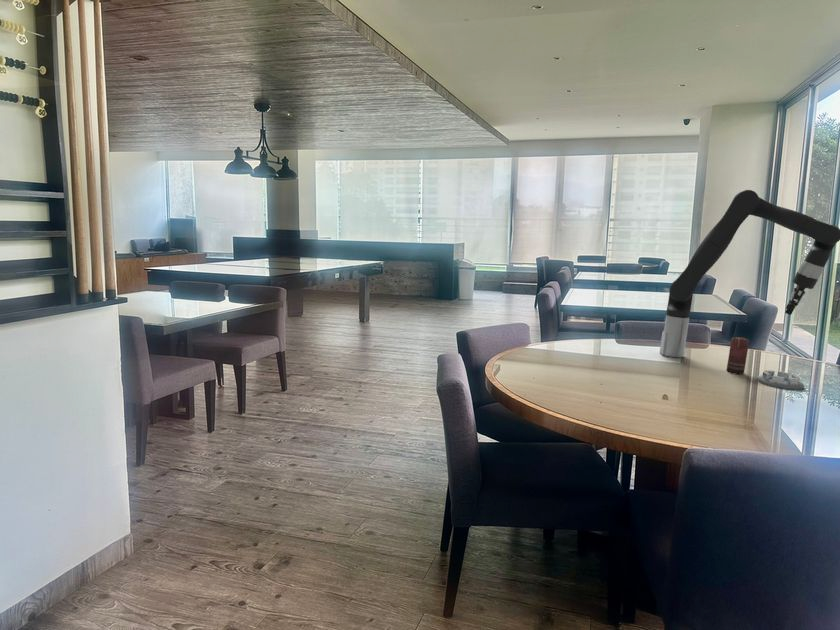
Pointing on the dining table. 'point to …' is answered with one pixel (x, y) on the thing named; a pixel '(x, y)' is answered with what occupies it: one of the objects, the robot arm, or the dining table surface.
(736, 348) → the can
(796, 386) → the slate plate
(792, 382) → the ring collar
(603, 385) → the dining table surface
